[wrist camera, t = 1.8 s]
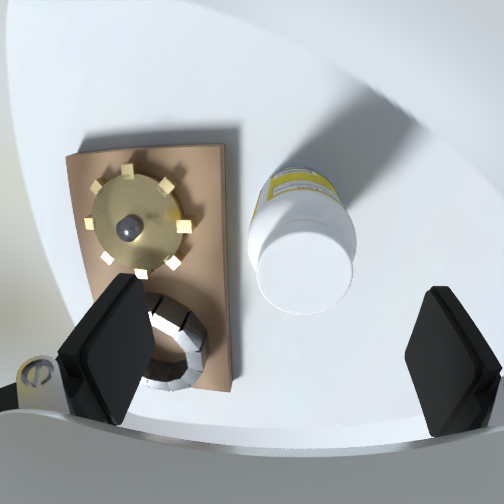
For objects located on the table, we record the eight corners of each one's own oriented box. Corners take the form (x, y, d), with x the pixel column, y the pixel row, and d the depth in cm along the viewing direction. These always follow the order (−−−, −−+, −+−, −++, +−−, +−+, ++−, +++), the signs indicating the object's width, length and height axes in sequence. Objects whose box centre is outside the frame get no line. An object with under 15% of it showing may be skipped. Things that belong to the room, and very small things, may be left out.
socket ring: (204, 297, 24) (196, 317, 22) (212, 376, 28) (206, 397, 26) (103, 287, 25) (89, 303, 23) (125, 362, 29) (116, 380, 26)
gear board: (224, 143, 20) (219, 146, 19) (232, 381, 30) (230, 392, 28) (76, 153, 21) (65, 156, 20) (123, 364, 31) (117, 373, 30)
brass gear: (192, 159, 19) (181, 165, 18) (199, 276, 23) (191, 291, 21) (84, 165, 20) (68, 171, 18) (101, 267, 24) (88, 280, 22)
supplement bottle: (299, 255, 23) (302, 347, 14) (242, 205, 22) (210, 277, 13) (353, 203, 21) (394, 274, 12) (296, 148, 20) (302, 182, 11)
